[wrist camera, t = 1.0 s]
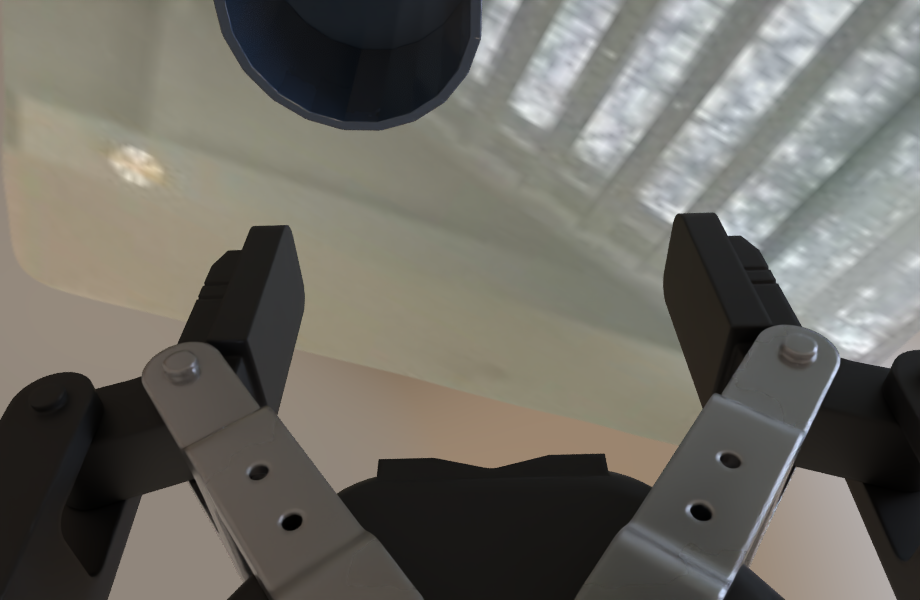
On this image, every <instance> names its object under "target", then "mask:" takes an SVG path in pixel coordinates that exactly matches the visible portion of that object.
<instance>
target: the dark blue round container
mask: <svg viewBox="0 0 920 600" xmlns="http://www.w3.org/2000/svg"><path fill="white" fill-rule="evenodd" d="M214 4H215V8H216V12H217V16H218V20H219V24H220V28H221V32H222V34H223V37H224V39H225V40H226V42H227V44H228V45H229V47H230V49H231V51H232V52H233V54H234V56H235V57H236V59H237V61H238V62H239V64H240V66H241V68H242V69H243V70H244V72H245V73H246V74H247V75H248V76H249V77H250V78H251V79H252V80H253V81H254V82H255V83H256V84H257V85H258V86H259V87H260V88H261V89H262V90H263V91H264V92H265V93H266V94H267V95H268V96H269V97H270V98H272V99H273V100H274V101H276V102H278V103H279V104H281V105H283V106H285V107H286V108H288V109H290V110H291V111H293V112H295V113H296V114H298V115H300V116H302V117H303V118H305V119H307V120H310V121H314V122H317V123H321V124H324V125H328V126H331V127H335V128H338V129H342V130H343V129H344V130H378V131H379V130H384V129H388V128H392V127H395V126H399V125H403V124H407V123H410V122H414V121H416V120H418V119H419V118H421V117H422V116H424V115H425V114H427V113H429V112H430V111H432V110H433V109H435V108H436V107H438V106H440V105H441V104H443V103H444V102H445V101H446V100H447V99H448V98H449V97H450V95H451V94H452V93H453V92H454V90H455V89H456V88H457V87H458V86H459V84H460V83H461V82H462V81H463V79H464V78H465V77H466V76H467V74H468V73H469V70H470V67H471V65H472V62H473V59H474V56H475V54H476V51H477V48H478V45H479V43H480V40H481V29H482V0H214Z"/></svg>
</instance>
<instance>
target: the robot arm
mask: <svg viewBox="0 0 920 600" xmlns="http://www.w3.org/2000/svg"><path fill="white" fill-rule="evenodd" d="M204 283H205V286H203V287H202V289H201V291H200V294H199V296H198V297H199V300H196V303H195V305H194V307H193V310H192V312H191V314H190V316H189V319H188V321H187V323H186V325H185V328H184V330H183V333H182V335H181V337H180V339H179V341H178V344H177V345H174V346H171V347H168V348H167V349H165V350H163V351H161V352H159V353H158V354H157V355H155V356H154V357H153V358H152V359H151V360H150V361H149V362H148V363H147V365H146V366H145V368H144V370H143V372H142V376H141V377H138V378H135V379H132V380H129V381H125V382H121V383H117V384H113V385H109V386H105V387H102V388H98V389H95V388H94V386H93V384H92V382H91V381H90V379H89V378H87V377H86V376H84V375H82V374H79V373H73V372H63V373H56V374H53V375H49V376H46V377H43V378H41V379H39V380H36V381H35V382H33V383H31V384H30V385H28V386H26V387H25V388H23V389H22V390H21V391H20V392H19V393H18V394H17V395H16V396H15V397H14V398H13V399H12V401H11V402H10V404H9V406H8V407H7V409H6V411H5V412H4V414H3V416H2V418H1V420H0V600H107V599H108V597H109V594H110V591H111V587H112V585H113V582H114V579H115V576H116V572H117V569H118V566H119V563H120V560H121V557H122V554H123V551H124V548H125V545H126V542H127V539H128V536H129V533H130V530H131V527H132V524H133V521H134V518H135V515H136V512H137V509H138V506H139V503H140V499H141V496H142V495H143V494H146V493H149V492H152V491H156V490H159V489H163V488H166V487H169V486H173V485H176V484H179V483H182V482H186V481H187V482H188V484H189V486H190V488H191V489H192V491H193V493H194V495H195V496H196V498H197V500H198V501H199V503H200V505H201V507H202V509H203V510H204V512H205V514H206V515H207V517H208V519H209V521H210V523H211V524H212V526H213V528H214V530H215V531H216V533H217V535H218V537H219V539H220V540H221V542H222V544H223V545H224V547H225V549H226V551H227V553H228V555H229V557H230V559H231V561H232V563H233V565H234V567H235V569H236V571H237V573H238V575H239V576H240V579H241V580H242V582H243V584H242V585H241V586H240V587H239V588H238V589H237V590H236V591H235V592H234V593H233V594H232V595H231V596H230V597H229V598H228V599H227V600H785V599H784V598H783V597H781V596H780V595H779V594H778V593H777V592H776V591H775V590H773V589H772V588H771V587H770V586H769V585H768V584H766V583H765V582H764V581H763V580H762V579H761V578H760V577H758V576H757V575H756V574H755V573H754V572H753V571H752V570H750V569H749V567H750V565H751V563H752V560H753V558H754V556H755V554H756V552H757V549H758V547H759V545H760V543H761V540H762V538H763V536H764V534H765V532H766V530H767V528H768V526H769V524H770V521H771V519H772V517H773V515H774V513H775V511H776V509H777V507H778V505H779V503H780V501H781V498H782V496H783V494H784V492H785V490H786V488H787V486H788V484H789V482H790V480H791V478H792V476H793V474H794V471H795V469H796V467H800V468H804V469H808V470H813V471H817V472H821V473H825V474H829V475H834V476H838V477H842V478H845V480H846V482H847V484H848V487H849V489H850V491H851V494H852V496H853V498H854V501H855V503H856V505H857V508H858V510H859V512H860V515H861V517H862V519H863V522H864V524H865V526H866V529H867V531H868V533H869V535H870V538H871V540H872V543H873V545H874V547H875V549H876V552H877V554H878V557H879V559H880V561H881V564H882V566H883V568H884V571H885V573H886V575H887V578H888V580H889V582H890V585H891V587H892V589H893V591H894V594H895V596H896V599H897V600H920V350H913V351H907V352H905V353H902V354H901V355H899V356H898V357H897V358H896V359H895V360H894V362H893V364H892V367H891V369H890V368H885V367H880V366H874V365H869V364H864V363H859V362H854V361H850V360H846V359H843V358H840V355H839V352H838V350H837V348H836V347H835V346H834V345H833V344H832V343H831V342H830V341H829V340H828V339H827V338H825V337H824V336H822V335H821V334H819V333H817V332H815V331H813V330H810V329H807V328H804V327H802V326H801V324H800V322H799V321H798V319H797V317H796V315H795V313H794V312H793V310H792V308H791V306H790V304H789V303H788V301H787V299H786V297H785V295H784V294H783V292H782V290H781V288H780V287H779V285H778V284H776V279H775V278H774V276H773V274H772V272H771V270H768V265H767V263H766V261H765V260H764V258H763V256H762V254H761V253H760V251H759V250H758V249H757V248H756V247H755V246H753V245H752V244H751V243H749V242H748V241H747V240H746V239H744V238H743V237H742V236H727V234H726V232H725V230H724V228H723V226H722V224H721V222H720V220H719V218H718V216H717V215H716V214H715V213H684V214H677V215H676V216H675V219H674V222H673V227H672V232H671V238H670V243H669V248H668V254H667V259H666V265H665V270H664V278H663V290H664V298H665V302H666V305H667V308H668V311H669V314H670V317H671V319H672V322H673V325H674V328H675V331H676V334H677V336H678V339H679V342H680V345H681V348H682V351H683V354H684V356H685V359H686V362H687V365H688V368H689V371H690V373H691V376H692V379H693V382H694V385H695V388H696V391H697V393H698V396H699V399H700V402H701V405H702V408H703V410H702V411H701V413H700V414H699V416H698V417H697V419H696V420H695V422H694V424H693V425H692V427H691V428H690V430H689V431H688V433H687V434H686V436H685V437H684V439H683V441H682V442H681V444H680V445H679V447H678V448H677V450H676V451H675V453H674V455H673V456H672V458H671V459H670V461H669V462H668V464H667V465H666V467H665V469H664V470H663V472H662V473H661V475H660V476H659V478H658V479H657V481H656V482H655V484H654V486H653V487H651V486H649V485H647V484H645V483H643V482H641V481H639V480H636V479H634V478H631V477H628V476H626V475H622V474H619V473H615V472H610V471H608V468H607V463H606V458H605V454H576V455H575V454H572V455H547V456H543V457H539V458H535V459H531V460H527V461H523V462H519V463H515V464H511V465H507V466H503V467H499V468H483V467H478V466H473V465H468V464H463V463H457V462H452V461H447V460H442V459H436V458H413V459H379V461H378V471H377V477H374V478H370V479H367V480H364V481H361V482H358V483H356V484H354V485H352V486H350V487H347V488H345V489H343V490H342V491H340V492H339V493H337V494H336V492H335V491H334V490H333V488H332V487H331V486H330V485H329V483H328V482H327V481H326V479H325V478H324V477H323V475H322V474H321V473H320V471H319V470H318V469H317V467H316V466H315V465H314V463H313V462H312V461H311V459H310V458H309V457H308V456H307V454H306V453H305V452H304V450H303V449H302V448H301V446H300V445H299V444H298V442H297V441H296V440H295V438H294V437H293V436H292V435H291V433H290V432H289V430H288V429H287V428H286V427H285V425H284V424H283V423H282V421H281V420H280V419H279V417H278V416H277V414H278V411H279V407H280V403H281V399H282V395H283V391H284V387H285V383H286V379H287V375H288V371H289V367H290V363H291V360H292V356H293V352H294V348H295V344H296V340H297V336H298V332H299V328H300V324H301V320H302V316H303V312H304V304H305V293H304V284H303V279H302V275H301V270H300V266H299V261H298V257H297V252H296V248H295V243H294V239H293V235H292V231H291V229H290V227H289V226H288V225H276V226H253V227H251V229H250V231H249V233H248V236H247V238H246V241H245V243H244V246H243V248H242V250H231V251H227V252H226V253H225V254H224V255H223V256H222V257H221V258H220V259H219V260H217V261H216V262H215V263H214V264H213V265H212V266H211V269H210V271H209V273H208V275H207V278H206V280H205V282H204Z"/></svg>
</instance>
